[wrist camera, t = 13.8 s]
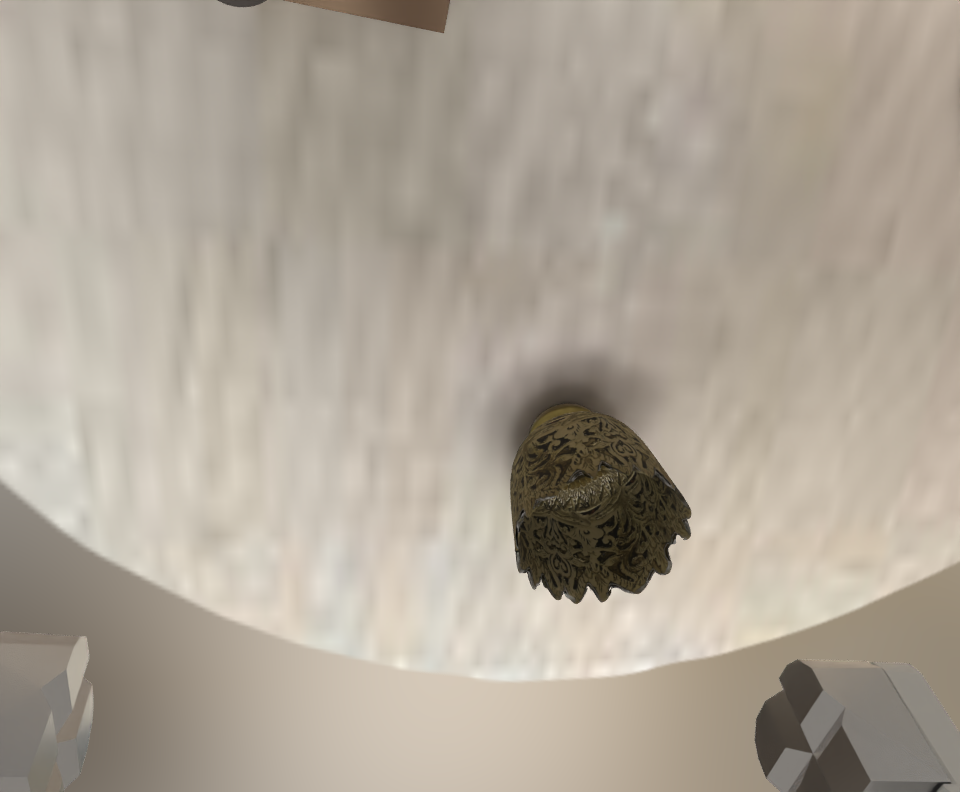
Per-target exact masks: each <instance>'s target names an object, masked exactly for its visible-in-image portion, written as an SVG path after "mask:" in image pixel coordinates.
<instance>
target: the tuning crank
mask: <svg viewBox="0 0 960 792" xmlns="http://www.w3.org/2000/svg"><path fill="white" fill-rule="evenodd" d="M218 1H220V2H222V3H225V4H227V5H231V6H235V7H251V6H255V5H258V4H261V3H263V2H265V1H266V0H218Z"/></svg>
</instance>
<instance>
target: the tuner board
mask: <svg viewBox="0 0 960 792" xmlns="http://www.w3.org/2000/svg"><path fill="white" fill-rule="evenodd" d="M284 1H289V2H294V3H299V4H304V5H309V6H314V7H319V8H323V9H328V10H333V11H338V12H343V13H348V14H353V15H358V16H362V17H367V18H372V19H377V20H382V21H387V22H392V23H397V24H401V25H406V26H411V27H416V28H421V29H426V30H431V31H435V32H440V33H444V30H445V25H446V19H447V14H448V8H449V3H450V0H284Z"/></svg>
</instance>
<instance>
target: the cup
mask: <svg viewBox="0 0 960 792" xmlns="http://www.w3.org/2000/svg"><path fill="white" fill-rule="evenodd" d="M510 495H511V511H512V522H513V531H514V541H515V552H516V562H517V568H518V571H519V573H526V572H527V574H528V578H529V581H530V584H531V586H532V588H533V589H534V590H535V589H536V587H537V586H538V585H540V584H539V583H540V581H541V580H542V583H543V585H544V587H545V588H547V589H548V590H549V592H550V593H551V595H552V596H553V597H554V598H555V599H556V600H560V599H561V597H562V595H563V593H564V594H565V596H566V597H567V598H569V599H570V600H571V601H572V602H573V603H575V604H578V603H579V602H580V601H581V600H582V599H583V597H584V595H585V593H586V591H587V589H588V588H587V586H589V587H590V589H592V590H593V592H594V594H595V595H596V597H597V598H598V600H599V601H600V602H604V601H606V600H607V599H608V597H609V596H610V594H611V590H612V588H620V589H621V590H622V591H624V592H628V593H632V594H639V593H641V592H642V591H643V590H644V589H645V587H646V586H647V585H648V583H649V581H650V580H651V578H652V576H653V574H654V573H655V572H656V573H658V574H660V575H666V574H668V573H669V572H670V570H671V567H672V563H671V560H670V556H669V552H668V548H669V546H670V545H671V544H676V536H677V534H678V535H680V536H681V538H684V539H683V540H687V539H689V538H690V536H691V531H690V527H689V524H688V521H687V519H690V518H691V509H690V507H689V505H688V504H687V502H686V500H685V499H684V497H683V495H682V494H681V493H680V491H679V490H678V489H677V487H676V486H675V485H674V483H673V482H672V480H671V479H670V477H669V476H668V475H667V473H666V472H665V470H664V469H663V468H662V466H661V465H660V463H659V462H658V461H657V459H656V458H655V456H654V455H653V454H652V452H651V451H650V450H649V448H648V447H647V446H646V445H645V443H644V442H643V441H642V440H641V439H640V438H639V437H638V436H637V435H636V434H635V433H634V432H633V431H632V430H631V429H630V428H629V427H628V426H626V425H625V424H624V423H622V422H620V421H618V420H616V419H615V418H613V417H610V416H608V415H604V414H601V413H596V412H592V411H591V410H589V409H588V408H586V407H584V406H581V405H578V404H572V403H565V404H559V405H555V406H553V407H550V408H548V409H547V410H545V411H544V412H542V413H541V414H540V415H539V416H538V417H537V418H536V419H535V421H534V423H533V424H532V427H531V429H530V432H529V436H528V437H527V438H526V439H525V441H524V442H523V444H522V445H521V447H520V448H519V450H518V452H517V455H516V457H515V460H514V463H513V467H512V473H511V482H510ZM610 587H611V590H610V591H609V588H610ZM586 588H587V589H586Z"/></svg>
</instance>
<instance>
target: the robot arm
mask: <svg viewBox="0 0 960 792" xmlns="http://www.w3.org/2000/svg"><path fill="white" fill-rule="evenodd" d="M88 660H89V651H88V644H87V638H86V637H84V636H69V635H53V634H36V633H19V632H3V631H0V792H64V789H65V788H66V787H67V786H68V785H69V784H70V783H72V782H73V781H74V780H75V779H76V778H77V777H78V776H79V775H80V772H81V769H82V765H83V762H84V759H85V755H86V752H87V748H88V742H89V737H90V730H91V726H92V719H93V687H92V684H91V683H90V682H88V681H87V680H86V679H85V678H84V677H83V676H84V673H85V670H86V667H87V664H88ZM779 679H780V682H781V685H782V688H783V690H782V691H781V692H779V693H777V694H776V695H774V696H773V697H771V698H769V699H768V700H766V701H765V703H764V705H763V707H762V708H761V710H760V713H759V714H758V716H757V718H756V730H755V744H756V749H757V754H758V759H759V761H760V764H761V766H762V769H763V772H764V774H765V777H766V779H768V780H769V781H770V782H771V783H772V784H773V785H774V786H775V787H776V788H777V789H778V790H779V791H780V792H960V732H959V731H958V729H957V727H956V726H955V725H954V723H953V721H952V720H951V718H950V717H949V715H948V713H947V712H946V710H945V709H944V707H943V706H942V704H941V703H940V701H939V700H938V698H937V696H936V695H935V693H934V692H933V690H932V689H931V687H930V686H929V684H928V683H927V681H926V680H925V678H924V677H923V675H922V674H921V673H920V671H918V670H917V669H916V668H915V667H913V666H912V665H911V664H910V663H888V662H887V663H886V662H867V661H849V660H848V661H847V660H795V661H794V662H792V663H790V664H788V665H787V666H786V668H785V669H784V671H783V672H782V674H781V676H780V677H779Z"/></svg>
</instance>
